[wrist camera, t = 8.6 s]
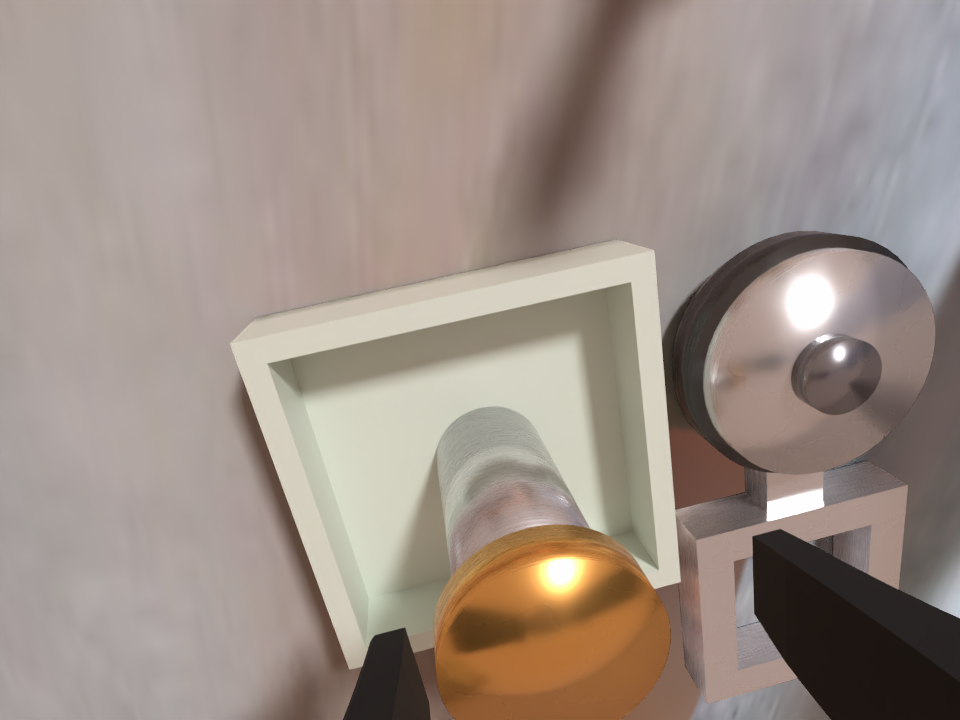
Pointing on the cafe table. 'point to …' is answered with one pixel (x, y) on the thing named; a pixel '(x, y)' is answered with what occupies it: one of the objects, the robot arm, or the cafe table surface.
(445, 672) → the jar with gold lid
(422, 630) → the parts tray
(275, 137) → the cafe table surface
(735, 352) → the tensioner bracket
